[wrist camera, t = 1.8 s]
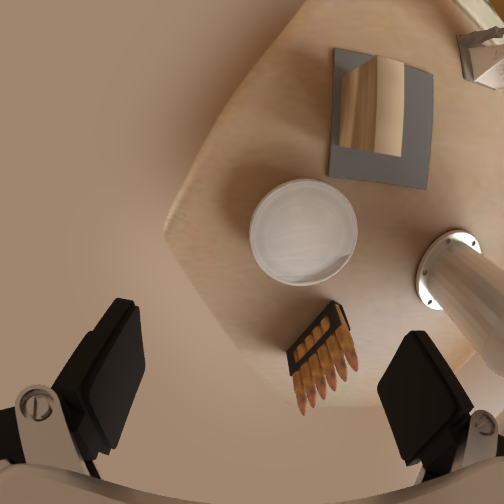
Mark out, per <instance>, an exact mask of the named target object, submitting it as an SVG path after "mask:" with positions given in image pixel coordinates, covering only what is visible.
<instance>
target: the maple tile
mask: <svg viewBox="0 0 504 504" xmlns="http://www.w3.org/2000/svg"><path fill="white" fill-rule="evenodd" d="M403 117H404V63H403V62H399V61H396V60H393V59H389V58H386V57H382V56H378V55H377V56H375V57H374V58H372V59H370V60H368V61H367V62H365V63H364V64H362V65H360V66H359V67H357V68H355V69H354V70H352V71H351V72H349V73H347V74H346V75H344V76H343V77H342V86H341V113H340V131H339V146H340V147H347V148H353V149H359V150H365V151H371V152H377V153H382V154H388V155H394V156H399V157H401V147H402V134H403Z"/></svg>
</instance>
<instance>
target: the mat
mask: <svg viewBox="0 0 504 504" xmlns="http://www.w3.org/2000/svg"><path fill="white" fill-rule="evenodd" d="M372 58H374V56H369V55H365V54H361V53H356V52H352V51H347V50H341V49H336V48H335V49H334V61H333V101H332V123H331V139H330V153H329V166H328V176H329V177H337V178H346V179H355V180H363V181H371V182H379V183H386V184H393V185H400V186H406V187H412V188H418V189H424V190H426V185H427V178H428V170H429V161H430V151H431V140H432V124H433V75H432V74H429V73H426V72H423V71H421V70H418V69H415V68H412V67H409V66H405V65H404V117H403V134H402V147H401V157H399V156H394V155H388V154H382V153H377V152H371V151H365V150H359V149H353V148H347V147H340V146H339V131H340V113H341V86H342V77H343V76H344V75H346V74H347V73H349V72H351V71H352V70H354V69H355V68H357V67H359V66H360V65H362V64H364V63H365V62H367V61H368V60H370V59H372Z"/></svg>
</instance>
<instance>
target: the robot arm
mask: <svg viewBox="0 0 504 504" xmlns="http://www.w3.org/2000/svg"><path fill="white" fill-rule="evenodd" d="M416 290H417V294H418V296H419V298H420V299H421V301H422V302H423V303H424V304H425V305H426V306H427V307H429V308H431V309H436V310H440V309H443V310H444V311H445V313H446V314H447V315H448V316H449V317H450V318H451V320H452V321H453V322H454V323H455V324H456V326H457V327H458V328H459V329H460V331H461V332H462V333H463V334H464V336H465V337H466V338H467V339H468V341H469V342H470V343H471V344H472V346H473V347H474V348H475V350H476V351H477V352H478V354H479V355H480V356H481V357H482V359H483V360H484V361H485V363H486V364H487V365H488V367H489V368H490V369H491V370H492V371H493V372H494V373H496V374H498V375H500V376H503V377H504V271H503V270H502V269H501V268H499V267H498V266H497V265H495V264H494V263H493V262H491V261H490V260H489V259H487V258H486V257H484V256H483V255H482V254H481V250H480V246H479V244H478V242H477V240H476V239H475V237H474V236H473V235H471V234H470V233H468V232H466V231H463V230H452V231H449V232H447V233H445V234H443V235H442V236H440V237H439V238H438V239H436V240H435V241H434V242H433V243H432V245H431V246H430V247H429V248H428V249H427V251H426V253H425V254H424V256H423V258H422V260H421V262H420V264H419V267H418V271H417V276H416ZM144 371H145V358H144V350H143V341H142V334H141V322H140V311H139V307H138V306H135V304H134V302H133V301H132V300H127V299H122V298H116V299H115V300H114V301H113V303H112V304H111V306H110V307H109V308H108V310H107V311H106V313H105V314H104V316H103V317H102V318H101V320H100V321H99V322H98V324H97V325H96V327H95V328H94V330H93V331H89V332H88V333H87V334H86V335H85V337H84V338H83V339H82V341H81V342H80V344H79V345H78V347H77V348H76V350H75V351H74V353H73V354H72V356H71V357H70V359H69V360H68V362H67V363H66V365H65V366H64V368H63V370H62V371H61V373H60V374H59V376H58V377H57V379H56V381H55V382H54V384H53V385H52V387H51V388H49V387H47V386H44V385H32V386H29V387H26V388H25V389H24V390H22V391H21V392H20V393H19V395H18V396H17V399H16V401H15V407H11V408H7V409H4V410H0V504H209V503H201V502H195V501H188V500H182V499H177V498H171V497H166V496H161V495H156V494H152V493H148V492H143V491H139V490H135V489H132V488H128V487H125V486H121V485H118V484H114V483H111V482H108V481H104V479H103V477H102V475H101V473H100V471H99V469H98V467H97V465H96V463H95V461H94V460H95V459H96V458H97V455H98V452H101V453H103V454H106V455H109V453H110V450H111V448H112V449H115V448H116V447H117V445H118V442H119V439H120V436H121V433H122V430H123V427H124V425H125V422H126V419H127V416H128V414H129V411H130V408H131V406H132V403H133V400H134V398H135V395H136V392H137V390H138V387H139V384H140V382H141V379H142V377H143V374H144ZM377 391H378V394H379V397H380V400H381V402H382V405H383V407H384V410H385V413H386V416H387V418H388V421H389V424H390V426H391V429H392V432H393V435H394V438H395V440H396V444H397V446H398V449H399V452H400V455H401V458H402V459H403V460H405V463H406V466H411V465H415V464H418V463H419V462H420V461H422V464H423V465H422V467H421V470H420V472H419V475H418V477H417V479H416V482H415V484H414V486H411V487H407V488H404V489H400V490H396V491H393V492H389V493H385V494H380V495H376V496H371V497H367V498H361V499H356V500H350V501H343V502H337V503H329V504H504V410H503V411H502V412H501V413H500V414H499V415H498V416H497V417H496V418H494V417H493V416H492V415H491V414H490V413H489V412H487V411H485V410H477V411H475V412H474V413H473V414H472V415H471V416H470V414H469V412H470V411H471V410H472V409H473V408H474V406H473V404H472V402H471V401H470V399H469V397H468V396H467V394H466V392H465V391H464V389H463V387H462V386H461V384H460V383H459V381H458V379H457V378H456V377H455V375H454V373H453V371H452V370H451V368H450V367H449V365H448V364H447V362H446V361H445V359H444V358H443V356H442V355H441V353H440V352H439V350H438V349H437V347H436V346H435V344H434V343H433V341H432V340H431V339H430V337H429V336H428V334H427V333H426V332H425V331H410V332H409V333H408V334H407V335H405V337H404V338H403V340H402V342H401V344H400V346H399V348H398V350H397V352H396V354H395V355H394V357H393V359H392V361H391V363H390V364H389V366H388V368H387V370H386V371H385V373H384V375H383V376H382V378H381V380H380V381H379V383H378V386H377Z"/></svg>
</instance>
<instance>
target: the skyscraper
mask: <svg viewBox="0 0 504 504" xmlns="http://www.w3.org/2000/svg"><path fill="white" fill-rule="evenodd" d="M503 34H504V28H499V27H497V26H495V27H493V28H490V29H488V30H484V31H478V32H476V31H474V32H472V33H470V34H469V35H462V36H461V35H459V34H458V35H457V40H458V44H459V49H460V55H461V60H462V67H463V74H464V79H465V80H468V81H471V82H474V83H477V84H480V85H482V86H485V87H488V88H490V89H493V90H504V44H503V45H491V46H484V45H482V44H480V43H483V42H484V41H486V40H489V39H492V38H502V37H503Z"/></svg>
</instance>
